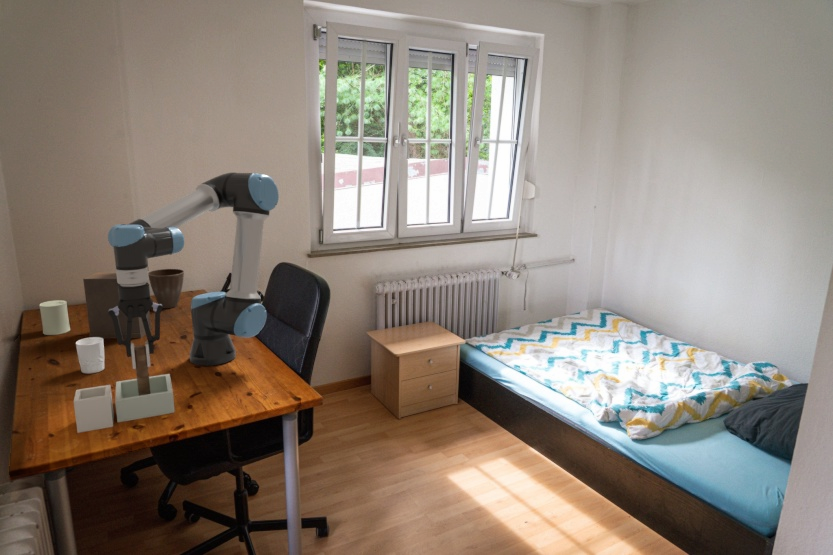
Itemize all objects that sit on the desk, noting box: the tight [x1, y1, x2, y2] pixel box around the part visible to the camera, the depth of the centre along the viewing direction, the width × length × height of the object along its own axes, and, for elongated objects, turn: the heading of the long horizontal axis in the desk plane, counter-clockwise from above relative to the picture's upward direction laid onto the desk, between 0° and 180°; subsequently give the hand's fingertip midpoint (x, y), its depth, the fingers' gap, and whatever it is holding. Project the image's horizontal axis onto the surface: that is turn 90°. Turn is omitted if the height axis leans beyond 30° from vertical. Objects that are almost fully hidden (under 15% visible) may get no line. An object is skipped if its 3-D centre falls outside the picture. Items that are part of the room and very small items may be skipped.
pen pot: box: [73, 384, 115, 434], centre depth 149 cm, size 8×8×10 cm
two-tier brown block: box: [82, 259, 152, 339], centre depth 221 cm, size 19×14×35 cm
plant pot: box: [148, 268, 185, 309], centre depth 259 cm, size 15×15×16 cm
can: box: [38, 299, 71, 336], centre depth 223 cm, size 9×9×12 cm
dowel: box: [134, 344, 151, 396], centre depth 157 cm, size 3×3×16 cm
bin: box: [114, 373, 175, 423], centre depth 159 cm, size 14×14×7 cm
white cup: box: [75, 336, 106, 375], centre depth 186 cm, size 8×8×10 cm
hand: (141, 365), depth 157 cm, fingers closed on dowel, 3 cm apart
